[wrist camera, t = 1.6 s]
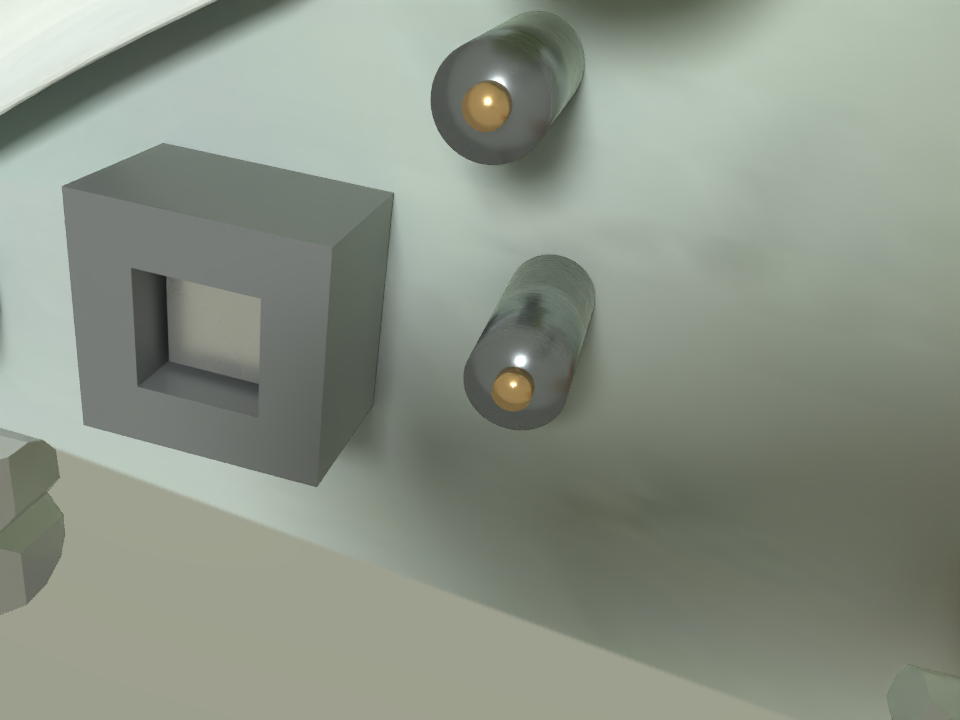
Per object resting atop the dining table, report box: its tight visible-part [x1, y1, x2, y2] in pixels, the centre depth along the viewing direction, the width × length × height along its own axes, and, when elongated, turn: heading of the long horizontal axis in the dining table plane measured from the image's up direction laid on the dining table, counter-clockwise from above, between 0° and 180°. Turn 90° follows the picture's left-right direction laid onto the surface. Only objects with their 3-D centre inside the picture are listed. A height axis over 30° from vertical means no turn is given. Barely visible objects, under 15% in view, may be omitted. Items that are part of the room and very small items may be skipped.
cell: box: [431, 11, 585, 165], centre depth 26 cm, size 3×3×8 cm
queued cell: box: [464, 255, 595, 430], centre depth 29 cm, size 3×3×8 cm
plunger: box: [166, 276, 261, 384], centre depth 32 cm, size 4×4×1 cm
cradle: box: [62, 143, 394, 487], centre depth 32 cm, size 9×10×6 cm
